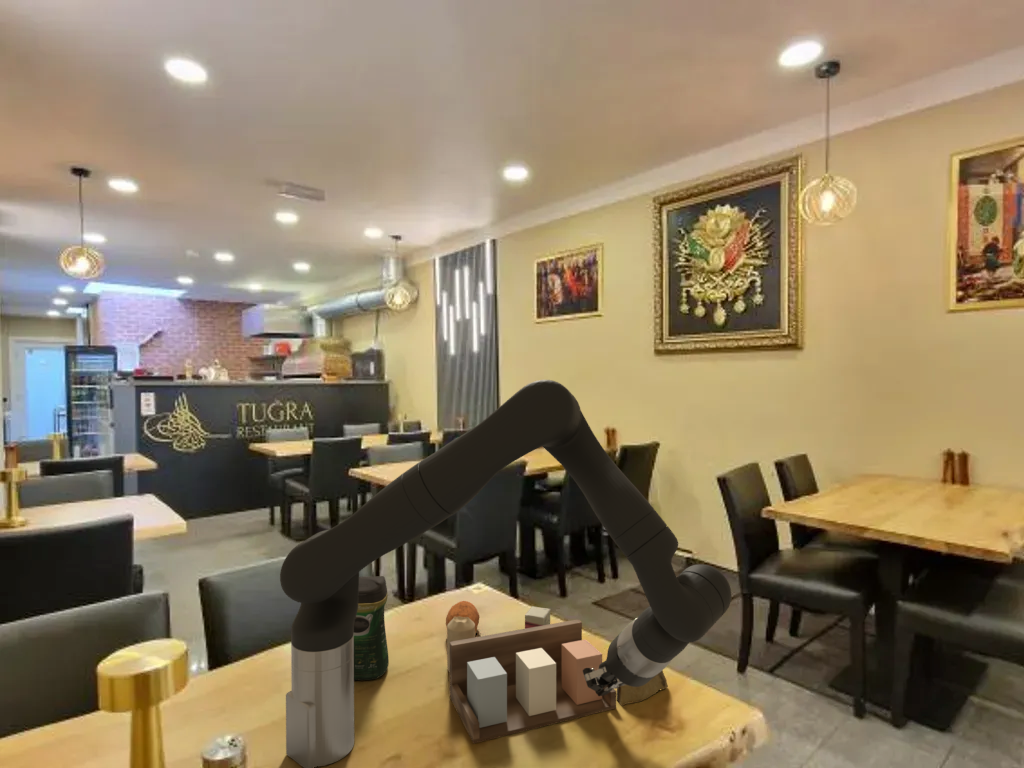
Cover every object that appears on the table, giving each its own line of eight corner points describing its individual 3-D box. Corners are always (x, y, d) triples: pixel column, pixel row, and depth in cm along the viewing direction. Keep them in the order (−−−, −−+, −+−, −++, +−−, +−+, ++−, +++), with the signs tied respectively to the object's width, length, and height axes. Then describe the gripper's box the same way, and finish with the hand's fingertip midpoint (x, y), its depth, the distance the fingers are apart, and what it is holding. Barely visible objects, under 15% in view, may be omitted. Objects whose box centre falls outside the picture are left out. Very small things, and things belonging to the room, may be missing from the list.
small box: (531, 641, 126) (531, 605, 125) (550, 644, 124) (550, 608, 124) (524, 652, 121) (524, 614, 121) (543, 655, 119) (543, 617, 119)
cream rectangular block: (556, 709, 99) (556, 663, 99) (529, 716, 97) (529, 668, 97) (541, 691, 104) (541, 647, 104) (515, 697, 102) (515, 652, 102)
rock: (664, 663, 112) (612, 654, 112) (675, 641, 106) (620, 632, 107) (668, 723, 103) (612, 713, 104) (680, 702, 98) (621, 692, 98)
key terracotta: (602, 698, 102) (602, 653, 102) (576, 704, 100) (577, 659, 100) (585, 681, 108) (585, 639, 107) (561, 687, 106) (561, 643, 106)
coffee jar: (391, 661, 117) (391, 570, 116) (383, 682, 109) (383, 584, 109) (343, 662, 117) (343, 570, 116) (332, 683, 109) (331, 585, 108)
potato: (441, 647, 123) (441, 614, 123) (451, 621, 136) (451, 591, 136) (474, 648, 122) (474, 615, 122) (482, 622, 135) (482, 592, 135)
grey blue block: (506, 721, 95) (506, 673, 95) (478, 728, 94) (478, 679, 93) (494, 702, 101) (494, 656, 101) (467, 708, 99) (467, 662, 99)
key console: (616, 708, 101) (616, 651, 100) (473, 743, 91) (473, 680, 91) (578, 669, 114) (578, 619, 113) (449, 697, 104) (449, 642, 104)
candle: (477, 661, 117) (477, 612, 117) (472, 676, 111) (472, 624, 111) (450, 660, 117) (450, 611, 117) (444, 674, 112) (444, 623, 112)
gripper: (667, 618, 91) (624, 659, 103) (593, 632, 86) (557, 673, 98) (689, 667, 86) (641, 705, 98) (612, 685, 81) (571, 722, 93)
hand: (599, 689), depth 98 cm, fingers closed
